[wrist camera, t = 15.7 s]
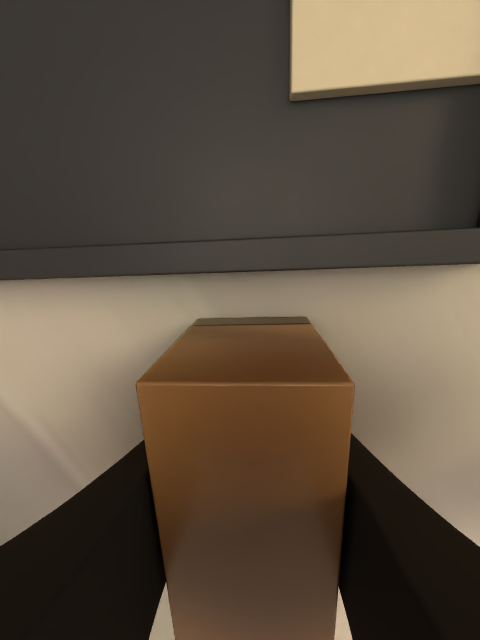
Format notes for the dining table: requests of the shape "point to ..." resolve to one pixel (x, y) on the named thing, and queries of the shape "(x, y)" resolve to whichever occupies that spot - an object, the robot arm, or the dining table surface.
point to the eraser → (249, 477)
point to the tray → (215, 150)
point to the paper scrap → (381, 46)
